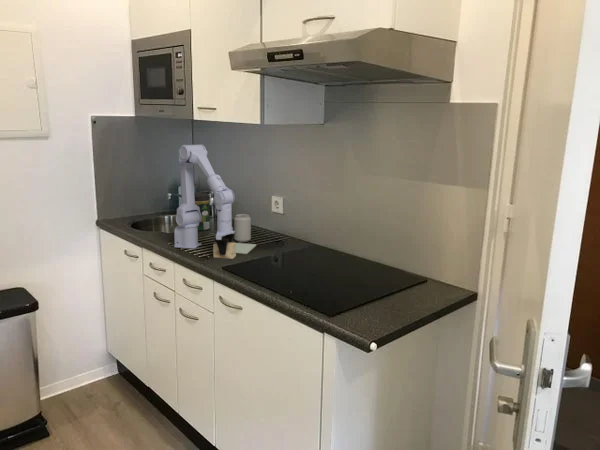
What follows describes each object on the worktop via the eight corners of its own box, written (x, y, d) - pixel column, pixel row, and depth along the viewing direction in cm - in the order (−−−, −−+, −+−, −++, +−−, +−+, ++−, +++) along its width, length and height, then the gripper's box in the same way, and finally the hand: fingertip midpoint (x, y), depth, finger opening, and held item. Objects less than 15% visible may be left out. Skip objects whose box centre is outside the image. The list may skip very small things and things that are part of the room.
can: (253, 239, 225) (253, 213, 223) (247, 243, 218) (247, 217, 216) (237, 237, 227) (237, 212, 224) (231, 241, 220) (231, 215, 217)
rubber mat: (212, 251, 204) (212, 250, 203) (223, 243, 217) (223, 242, 217) (247, 253, 201) (247, 252, 201) (256, 245, 214) (256, 244, 214)
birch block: (213, 257, 195) (213, 244, 194) (217, 254, 199) (217, 241, 198) (232, 258, 194) (232, 245, 192) (236, 255, 198) (235, 242, 197)
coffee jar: (188, 228, 243) (187, 192, 239) (201, 226, 249) (201, 190, 245) (199, 232, 237) (198, 194, 233) (212, 229, 242) (212, 193, 238)
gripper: (228, 224, 186) (228, 258, 188) (239, 217, 199) (239, 249, 202) (210, 223, 187) (211, 257, 190) (223, 216, 201) (223, 247, 204)
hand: (224, 253), depth 196 cm, fingers closed on birch block, 4 cm apart
